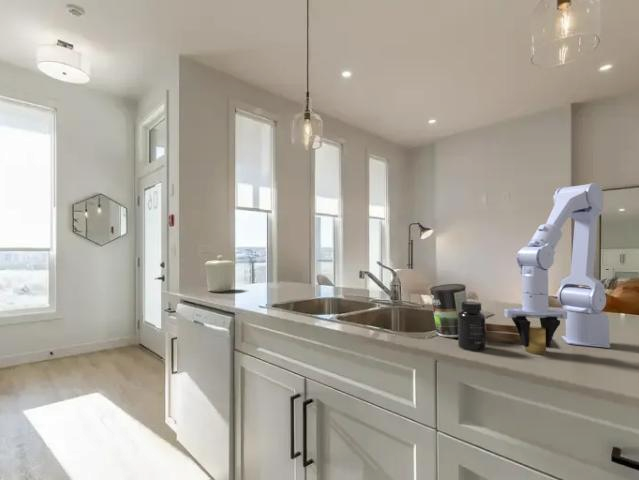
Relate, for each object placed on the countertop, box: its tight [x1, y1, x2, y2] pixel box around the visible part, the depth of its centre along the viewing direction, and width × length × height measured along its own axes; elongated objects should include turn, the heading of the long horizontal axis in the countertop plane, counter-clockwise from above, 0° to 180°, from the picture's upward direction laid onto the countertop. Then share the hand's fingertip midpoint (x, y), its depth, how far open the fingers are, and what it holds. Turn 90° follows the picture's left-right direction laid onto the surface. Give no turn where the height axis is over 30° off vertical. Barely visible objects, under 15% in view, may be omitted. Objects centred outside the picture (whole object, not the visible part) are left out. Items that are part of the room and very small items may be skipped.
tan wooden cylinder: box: [524, 325, 547, 355], centre depth 90 cm, size 4×4×6 cm
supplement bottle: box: [457, 300, 487, 352], centre depth 93 cm, size 7×7×12 cm
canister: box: [203, 254, 236, 293], centre depth 208 cm, size 18×18×21 cm
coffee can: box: [429, 283, 468, 338], centre depth 106 cm, size 10×10×14 cm
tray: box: [486, 322, 522, 345], centre depth 102 cm, size 16×12×3 cm
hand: (535, 346), depth 90 cm, fingers closed on tan wooden cylinder, 4 cm apart
